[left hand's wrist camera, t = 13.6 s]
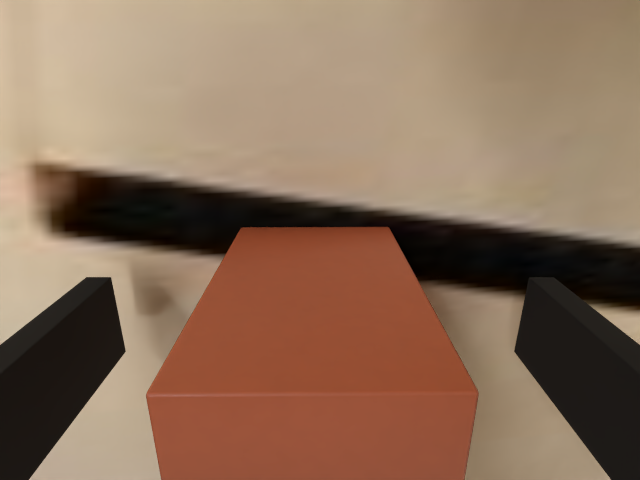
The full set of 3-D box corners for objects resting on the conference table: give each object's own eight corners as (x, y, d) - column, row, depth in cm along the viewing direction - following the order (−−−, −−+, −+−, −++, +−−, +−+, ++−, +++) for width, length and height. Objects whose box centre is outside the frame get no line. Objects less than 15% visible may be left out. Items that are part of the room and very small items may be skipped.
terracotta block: (381, 352, 15) (445, 604, 8) (249, 352, 15) (183, 606, 8) (389, 226, 13) (481, 392, 6) (240, 226, 13) (144, 394, 6)
